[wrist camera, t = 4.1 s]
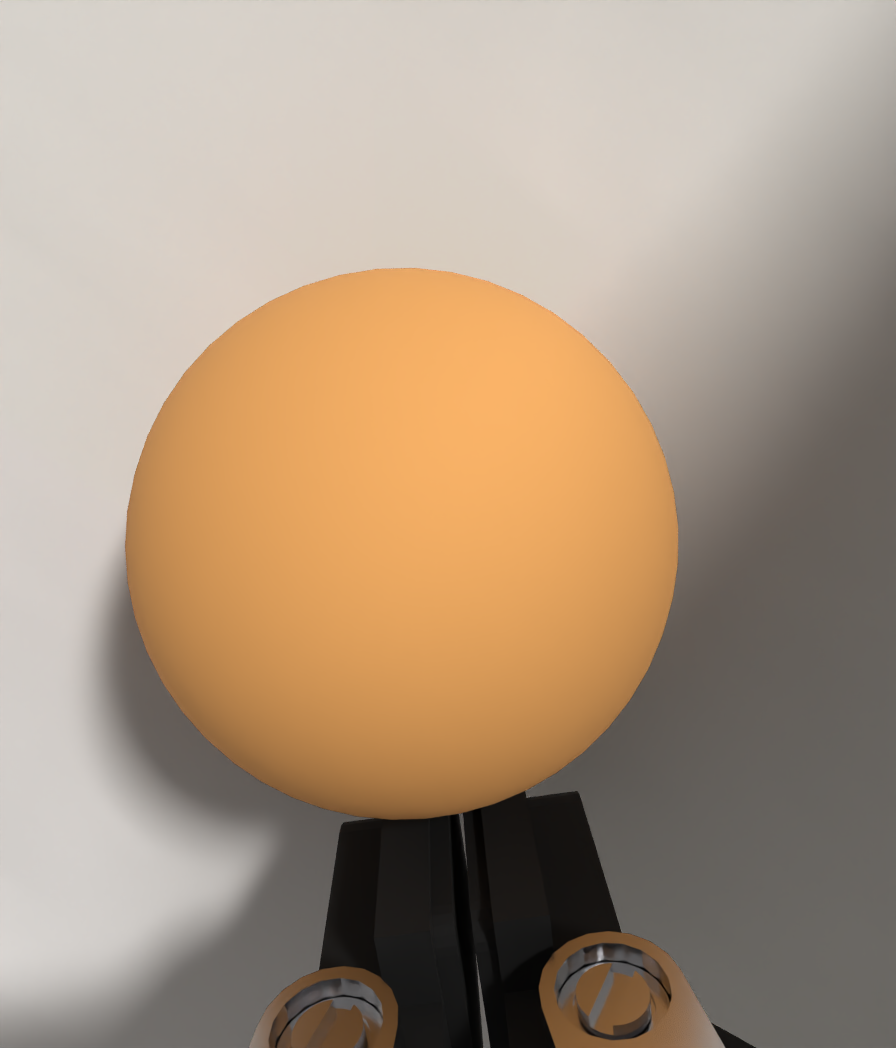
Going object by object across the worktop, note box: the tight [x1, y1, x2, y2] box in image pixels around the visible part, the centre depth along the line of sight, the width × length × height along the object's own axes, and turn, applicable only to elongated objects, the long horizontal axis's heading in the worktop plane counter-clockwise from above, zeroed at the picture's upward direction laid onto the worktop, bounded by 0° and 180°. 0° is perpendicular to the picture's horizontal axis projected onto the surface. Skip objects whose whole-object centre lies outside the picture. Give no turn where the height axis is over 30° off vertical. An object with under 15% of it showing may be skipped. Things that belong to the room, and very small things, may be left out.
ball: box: [125, 268, 678, 820], centre depth 9 cm, size 6×6×6 cm
